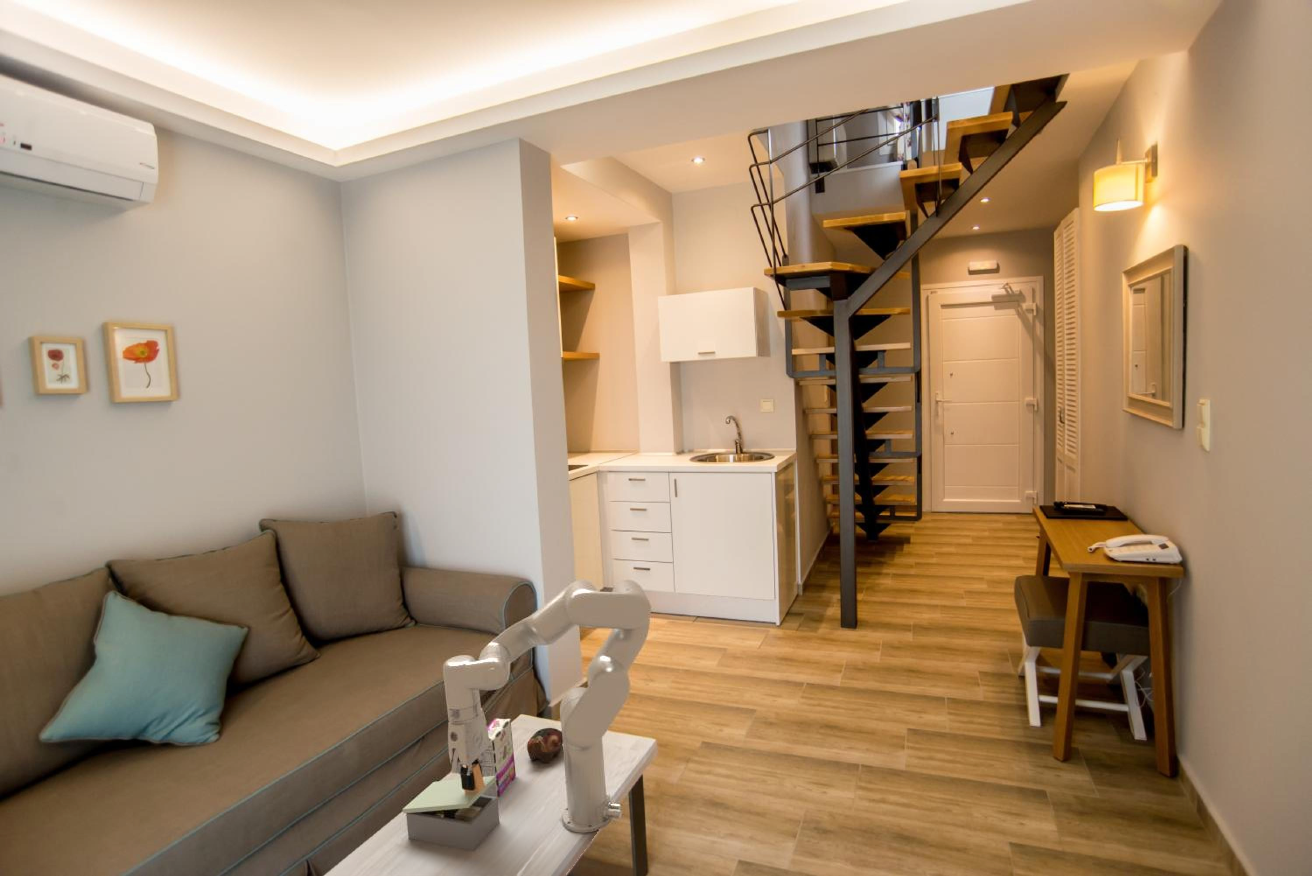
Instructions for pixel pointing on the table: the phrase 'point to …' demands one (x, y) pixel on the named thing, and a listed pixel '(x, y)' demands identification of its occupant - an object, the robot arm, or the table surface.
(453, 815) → the parts tub
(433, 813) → the brass cylinder
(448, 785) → the lid
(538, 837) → the table surface
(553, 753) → the decorative turtle
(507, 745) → the candy bar box
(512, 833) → the table surface
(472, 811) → the birch block
